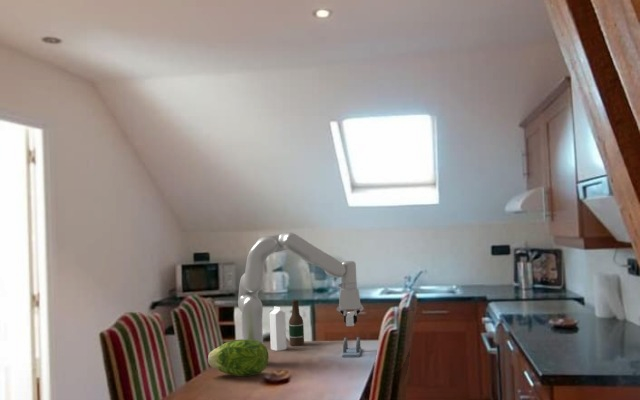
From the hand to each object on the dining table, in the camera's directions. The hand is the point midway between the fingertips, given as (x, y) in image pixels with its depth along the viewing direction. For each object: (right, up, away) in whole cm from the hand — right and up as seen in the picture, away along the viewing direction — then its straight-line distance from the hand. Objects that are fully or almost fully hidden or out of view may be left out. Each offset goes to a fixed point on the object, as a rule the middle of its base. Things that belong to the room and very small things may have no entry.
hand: (350, 323), depth 289 cm
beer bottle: (-28, -17, +26) cm, 41 cm away
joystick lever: (0, 0, +2) cm, 2 cm away
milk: (-37, -17, +16) cm, 43 cm away
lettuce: (-50, -15, -37) cm, 64 cm away
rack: (+1, -15, -1) cm, 15 cm away
